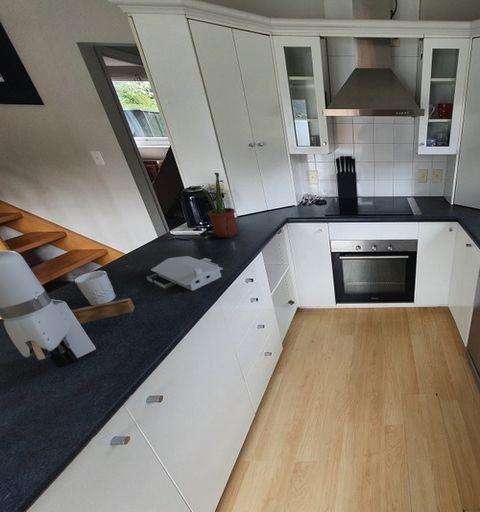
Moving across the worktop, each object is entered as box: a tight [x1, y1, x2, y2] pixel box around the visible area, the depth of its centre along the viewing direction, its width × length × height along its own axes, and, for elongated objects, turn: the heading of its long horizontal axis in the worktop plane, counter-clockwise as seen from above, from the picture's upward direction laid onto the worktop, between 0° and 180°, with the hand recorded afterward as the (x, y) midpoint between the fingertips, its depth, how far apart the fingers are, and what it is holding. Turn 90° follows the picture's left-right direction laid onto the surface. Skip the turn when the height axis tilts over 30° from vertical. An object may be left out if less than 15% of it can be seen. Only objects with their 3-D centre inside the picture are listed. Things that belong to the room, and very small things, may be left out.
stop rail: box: [70, 297, 136, 325], centre depth 89 cm, size 16×3×5 cm, turn 118°
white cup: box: [74, 270, 117, 306], centre depth 96 cm, size 8×8×10 cm
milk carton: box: [51, 298, 97, 359], centre depth 71 cm, size 7×7×19 cm
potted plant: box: [191, 172, 238, 240], centre depth 144 cm, size 17×16×35 cm
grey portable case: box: [145, 255, 224, 292], centre depth 114 cm, size 25×24×7 cm
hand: (68, 363), depth 69 cm, fingers closed
